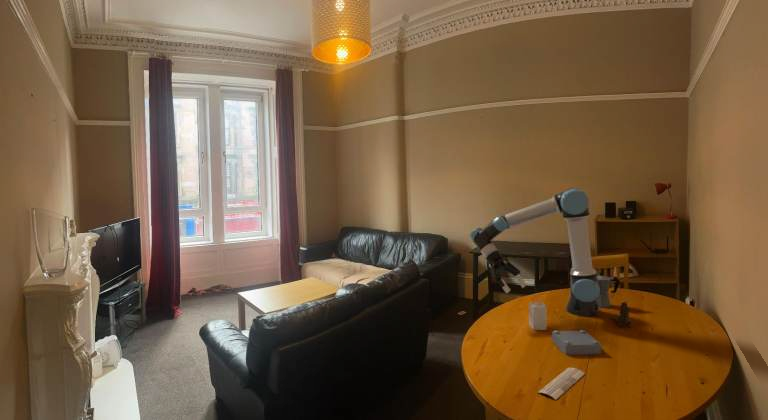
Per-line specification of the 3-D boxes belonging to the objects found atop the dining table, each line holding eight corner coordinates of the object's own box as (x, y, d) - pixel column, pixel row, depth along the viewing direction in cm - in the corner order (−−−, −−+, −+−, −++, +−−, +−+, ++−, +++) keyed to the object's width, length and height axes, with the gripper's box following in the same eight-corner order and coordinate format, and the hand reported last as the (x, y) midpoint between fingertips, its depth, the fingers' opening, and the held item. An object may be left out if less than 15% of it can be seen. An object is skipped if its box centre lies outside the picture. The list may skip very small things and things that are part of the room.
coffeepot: (586, 306, 218) (587, 273, 216) (587, 300, 226) (587, 269, 225) (619, 309, 211) (620, 275, 209) (619, 304, 219) (619, 271, 218)
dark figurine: (629, 330, 184) (630, 303, 183) (605, 325, 192) (606, 299, 190) (638, 321, 195) (639, 296, 194) (615, 316, 202) (616, 292, 201)
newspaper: (567, 370, 151) (568, 366, 151) (587, 377, 146) (587, 372, 146) (537, 395, 135) (537, 390, 135) (558, 404, 130) (558, 398, 130)
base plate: (584, 339, 176) (584, 329, 175) (600, 354, 162) (601, 343, 161) (552, 340, 176) (552, 330, 176) (565, 354, 162) (565, 343, 162)
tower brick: (541, 324, 194) (541, 300, 193) (546, 329, 188) (546, 304, 187) (529, 325, 194) (529, 301, 193) (533, 329, 188) (533, 305, 187)
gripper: (501, 255, 219) (526, 288, 208) (471, 262, 203) (496, 298, 193) (510, 246, 214) (535, 280, 204) (480, 253, 198) (506, 289, 188)
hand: (516, 289), depth 198 cm, fingers open, 13 cm apart
